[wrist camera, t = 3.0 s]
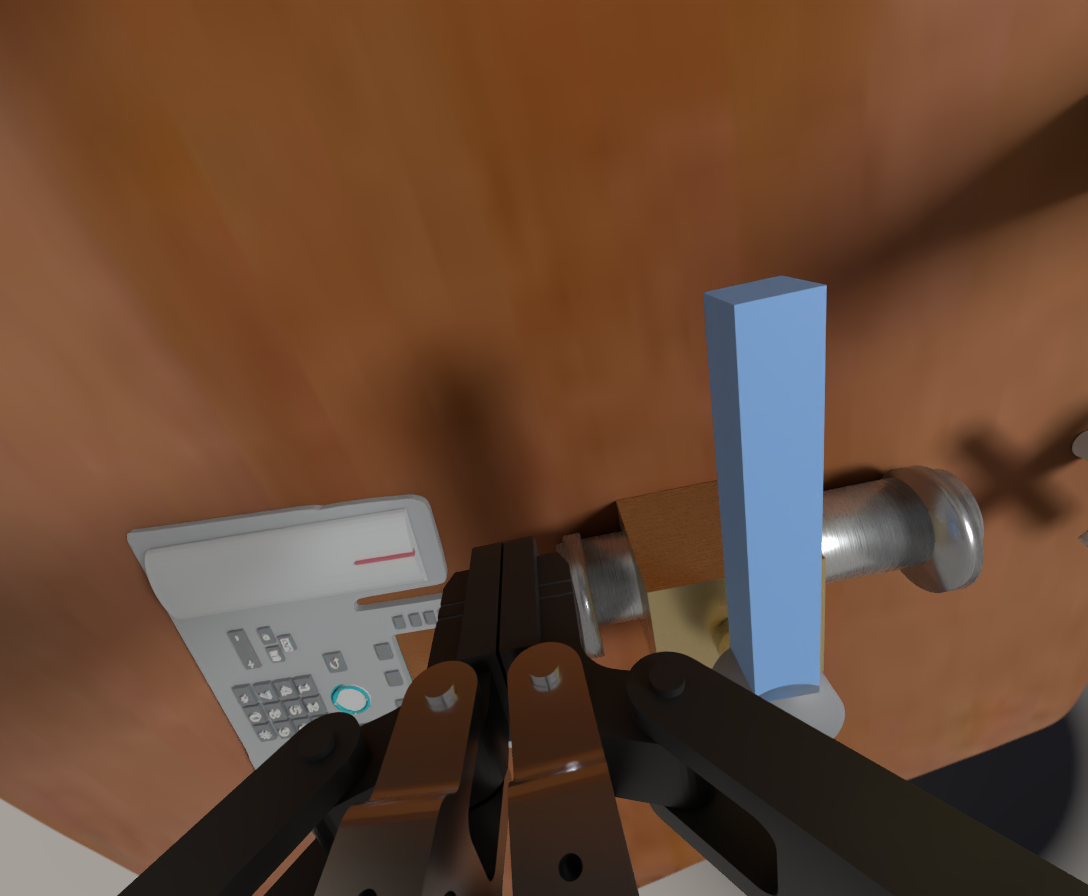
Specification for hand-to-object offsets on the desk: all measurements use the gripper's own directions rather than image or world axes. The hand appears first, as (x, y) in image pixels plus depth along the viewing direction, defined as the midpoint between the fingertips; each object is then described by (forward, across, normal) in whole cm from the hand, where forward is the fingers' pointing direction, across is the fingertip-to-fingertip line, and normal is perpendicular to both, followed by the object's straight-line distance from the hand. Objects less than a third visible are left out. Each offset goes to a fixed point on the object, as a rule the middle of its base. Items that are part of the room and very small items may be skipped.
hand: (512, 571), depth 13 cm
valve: (+16, -11, +12) cm, 23 cm away
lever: (+6, -8, +5) cm, 11 cm away
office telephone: (+17, +15, +16) cm, 28 cm away
